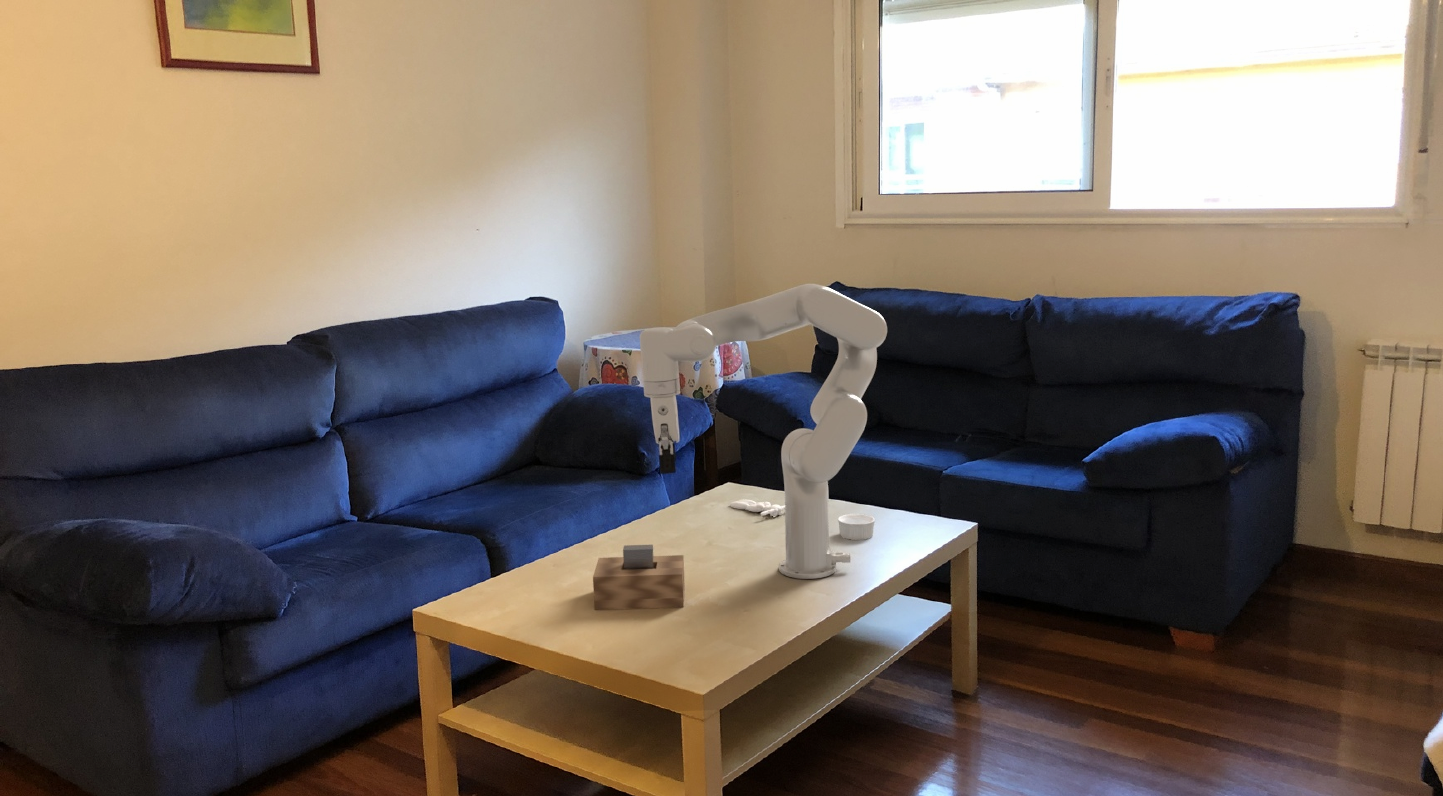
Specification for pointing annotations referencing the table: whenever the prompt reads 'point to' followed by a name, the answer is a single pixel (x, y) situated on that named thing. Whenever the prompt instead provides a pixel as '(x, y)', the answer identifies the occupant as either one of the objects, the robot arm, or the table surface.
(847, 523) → the ramekin
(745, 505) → the decorative figure
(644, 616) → the table surface
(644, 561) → the grey rectangular block
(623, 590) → the tan slotted block
